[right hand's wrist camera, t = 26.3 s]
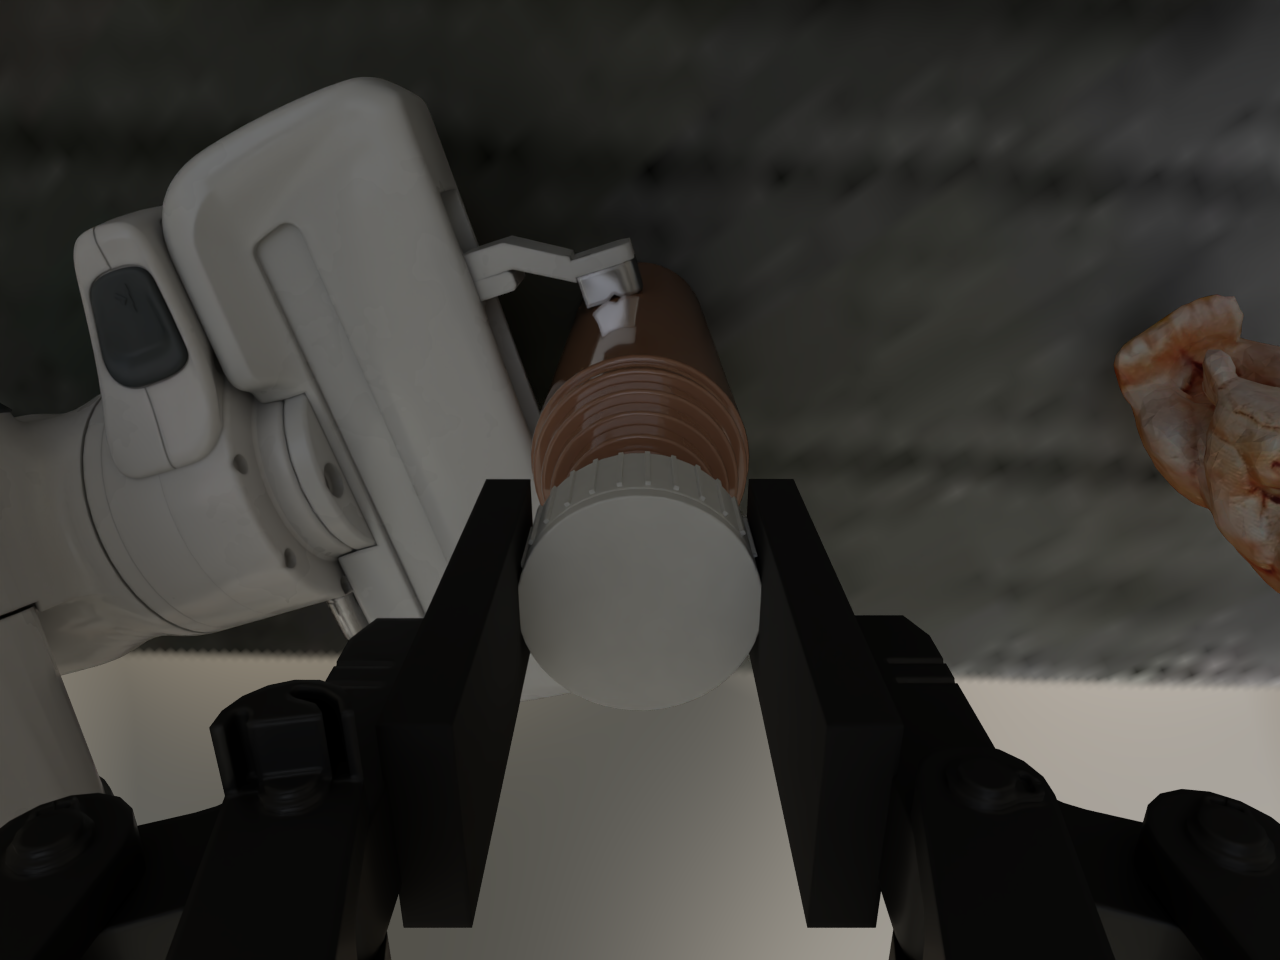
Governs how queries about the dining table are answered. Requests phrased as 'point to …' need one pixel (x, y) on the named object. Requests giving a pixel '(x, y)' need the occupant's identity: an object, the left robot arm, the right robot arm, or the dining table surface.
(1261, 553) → the figurine
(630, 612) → the cap
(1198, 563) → the dining table surface
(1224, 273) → the dining table surface
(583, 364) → the bottle
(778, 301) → the dining table surface
